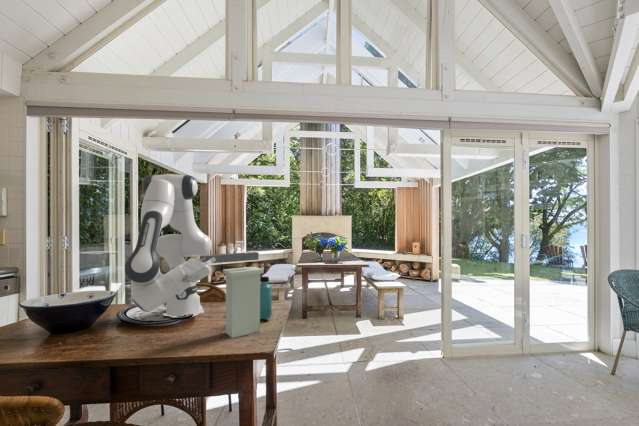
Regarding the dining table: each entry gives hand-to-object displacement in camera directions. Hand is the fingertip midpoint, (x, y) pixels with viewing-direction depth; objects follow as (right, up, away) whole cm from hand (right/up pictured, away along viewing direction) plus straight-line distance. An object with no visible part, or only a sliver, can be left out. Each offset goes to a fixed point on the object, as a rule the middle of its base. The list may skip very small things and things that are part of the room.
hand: (212, 257), depth 127 cm
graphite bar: (+6, -2, +5) cm, 8 cm away
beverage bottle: (+16, -32, +23) cm, 43 cm away
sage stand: (+10, -32, +7) cm, 34 cm away
